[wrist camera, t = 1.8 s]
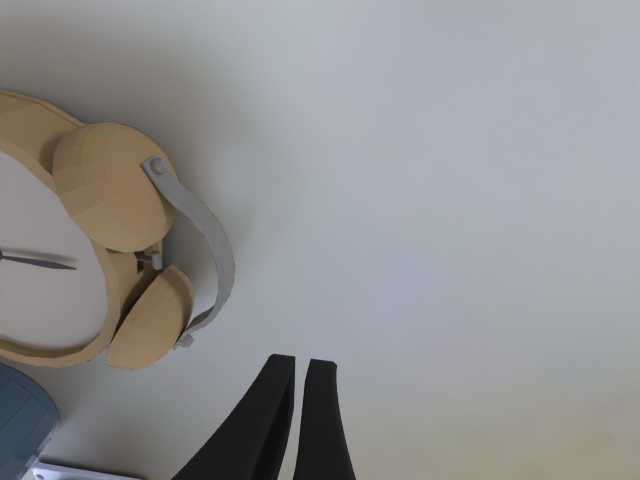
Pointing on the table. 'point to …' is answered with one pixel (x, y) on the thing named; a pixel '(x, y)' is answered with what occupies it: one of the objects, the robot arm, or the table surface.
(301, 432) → the robot arm
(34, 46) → the table surface
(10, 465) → the pen pot
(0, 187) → the alarm clock
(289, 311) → the table surface
